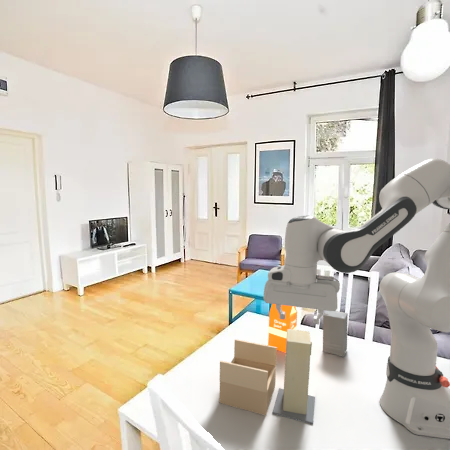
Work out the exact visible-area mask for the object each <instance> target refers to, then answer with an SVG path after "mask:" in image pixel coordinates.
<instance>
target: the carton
mask: <svg viewBox="0 0 450 450" xmlns="http://www.w3.org/2000/svg"><path fill="white" fill-rule="evenodd" d="M233 346H234V348H233V349H234V354H233V355H234V356H233V358H232V360H231V361H224V360H219V404H223V405H226V406H230V407H233V408H236V409H240V410H245V411H247V412H251V413H255V414H258V415H262V416H267V414H268V410H269V407H270V404H271V400H272V397H273V394H274V391H275V389H276V388H275V387H276V375H277V374H276V372H277V354H278V353H277V351H278V350H277V347H273V346H268V344H263V343H256V342H252V341H247V340H241V339H238V338H237V339H236V338H235V339H234V345H233Z"/></svg>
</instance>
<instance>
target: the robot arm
mask: <svg viewBox="0 0 450 450" xmlns="http://www.w3.org/2000/svg"><path fill="white" fill-rule="evenodd" d="M378 195H379V197H378V200H379V204H380V207H381V210H380V211H378V212H377V213H376V214H375V215H373V216H372V217H371V218H370V219H369V220H367V221H365V222H364V223H363V224H362V225H360V226H359V227H358V228H355V229H353V230H343V229H341V228H338V227H334V226H332V225H329V224H328V223H325V222H324V221H321V220H320V219H318V218H317V217H316V216H314V215H301V216H299V215H298V216H296V217H293V218H291V219H289V220H288V222H287V225H286V228H285V236H284V250H285V258H284V264H283V265H279V266H275V267H272V268H271V269H270V270H269V271H268V274H267V280H266V282H265V283H264V284H265V285H264V288H263V297H262V298H263V301H264V302H265V303H266V304H271V305H272V304H276V309H277V311H278V313H279V319H283V320H285V312H283V311H282V309H281V306H282V305H286V306H294V307H297V308H302V309H303V308H304V309H312V310H317V313H318V314H317V315H313V321H312V323H313V324H314V325H320V319H321V318H322V317H323V314H324V313H325V312H326V311H337V309H338V293H339V291H340V289H341V288H340V286H341V285H340V281H339V280H338V278H336V277H334V276H330V275H329V276H326V275H321V274H317V273H318V262H319V261H325V263H327V264H328V265H329V266H330V267H331V268H332V269H333V270H335V271H337V272H339V273H343V274H350V273H355V272H357V271H359V270H361V269H362V268H363V267H364V266H365V265H366V264H367V263H368V261H369V259H370V258H371V256H372V255H373V254H374V252H375V251H376V250H377V249H378V248H379V247H380V246H382V245H383V244H384V243H385V242H386V241H388V240H390V238H391V237H393V236H394V235H395V234H397V233H398V232H399V231H400V230H401V229H402V228H404V227H405V226H406V225H407V224H409V223H410V221H412V219H413V218H415V215H417V214H419V212H422V210H424V209H425V208H427V207H428V206H430V205H431V204H432V205H434V206H435V207H437V208H439V209H443V210H450V163H448V162H447V161H445V160H443V159H440V158H429V159H426V160H423V161H422V162H420V163H418V164H416V165H413V166H412V167H410V168H408V169H407V170H405V171H403V172H402V173H400V174H398V175H396V176H395V177H394V178H393V179H391V180H390V181H389V182H388V183H387V184H385V185H384V187H382V188H381V190H380V192H379V194H378ZM424 261H425V263H426V269H425V272H424V274H423V276H422V277H421V278H420V277H417V276H415V275H412V274H410V273H407V272H406V273H405V272H397V271H396V272H390V273H387V274H385V275H384V276H383V278H382V279H381V280H380V282H379V287H378V288H379V289H378V290H379V293H380V295H381V297H382V299H383V301H384V304H385V306H386V310H387V311H386V313H387V315H388V320H389V327H390V351H389V352H390V353H389V356H388V358H387V363H386V381H385V382H386V383H385V387H384V390H383V392H382V394H381V396H380V398H379V403H380V406H381V408H382V410H383V411H384V412H385V413H386V414H387V415H388V416H389V417H390V418H392V419H393V420H395V421H396V422H398V423H399V424H401V425H403V426H404V427H405V428H406V430H408V431H410V432H411V433H412V434H414V435H418V436H426V437H433V438H440V439H446V440H448V439H449V440H450V388H449V387H450V381H449V380H448V378H447V377H446V376H444V374H443V372H442V371H441V370H440V369H439V367H437V357H438V349H439V347H438V341H437V339H436V338H435V335H434V334H433V332H432V330H435V331H439V332H442V333H450V222H449V223H448V225H446V226H445V228H444V229H443V230H442V231H441V233H440V234H439V235H438V236H437V237H436V239H435V240H434V241H433V242H432V243H431V245H430V246H429V247H428V249H426V251H425V253H424ZM324 311H325V312H324Z"/></svg>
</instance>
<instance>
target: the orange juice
mask: <svg viewBox="0 0 450 450" xmlns="http://www.w3.org/2000/svg"><path fill="white" fill-rule="evenodd" d="M281 309H282V311H283V312H285V320H283V319H279V313H278V311H277V309H276V304H271V307H270V310H269V314H268V315H269V317H268V339H267V340H268V343H267V345H268V346H273V347H277V351H279V352H282V353H285V354H286V338H287V329H293V330H298V329H297V327H298V326H297V322H298V311H297V308H296V307H294V306H286V305H282V306H281Z"/></svg>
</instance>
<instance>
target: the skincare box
mask: <svg viewBox="0 0 450 450" xmlns="http://www.w3.org/2000/svg"><path fill="white" fill-rule="evenodd" d="M348 316H349V315H348V312H343V311H337V310H335V311H326V310H325V312H323V315H322V352H324V353H326V354H327V353H328V354H330V355H331V354H332V355H335V356H340V357H345V354H346V352H347V349H348Z"/></svg>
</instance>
